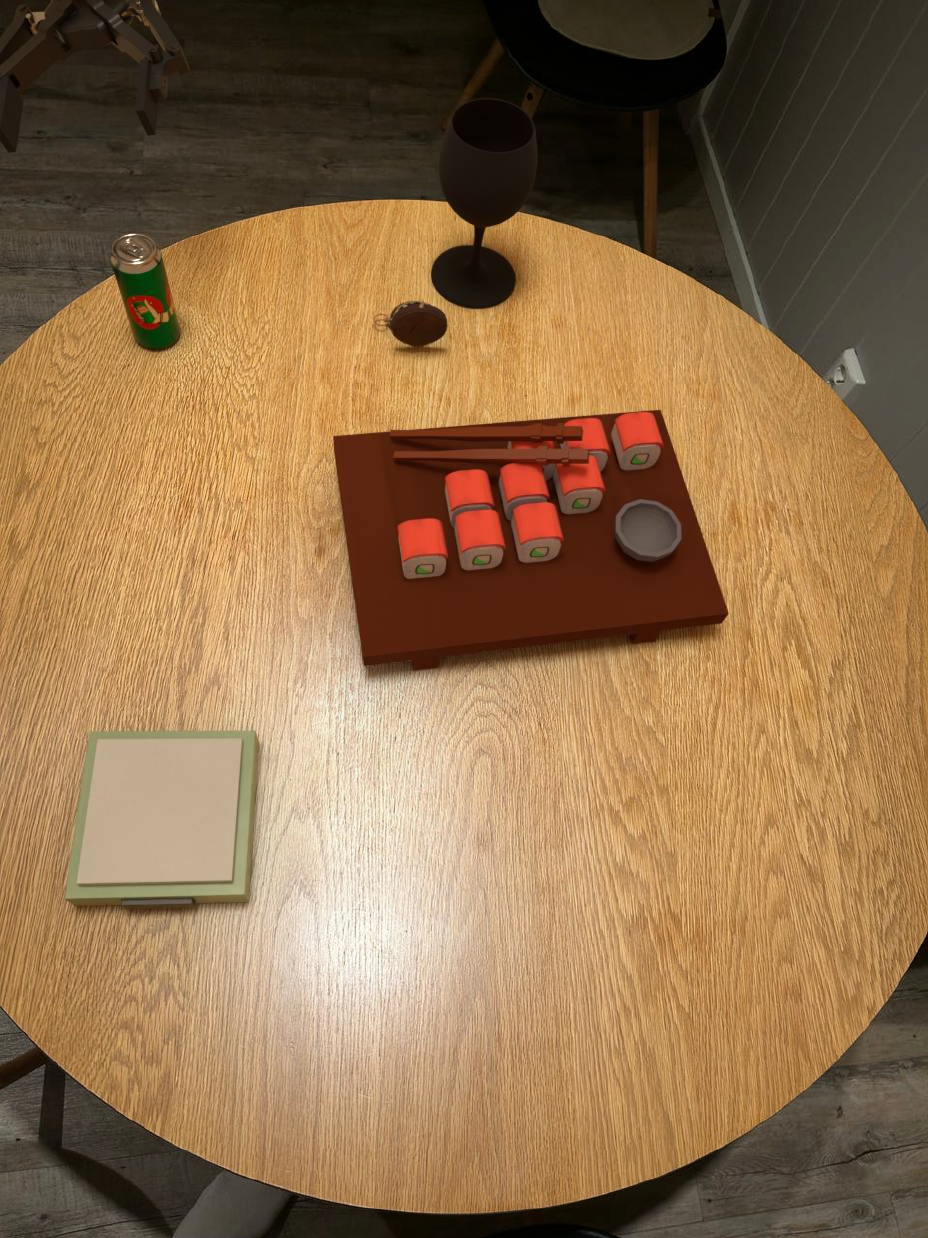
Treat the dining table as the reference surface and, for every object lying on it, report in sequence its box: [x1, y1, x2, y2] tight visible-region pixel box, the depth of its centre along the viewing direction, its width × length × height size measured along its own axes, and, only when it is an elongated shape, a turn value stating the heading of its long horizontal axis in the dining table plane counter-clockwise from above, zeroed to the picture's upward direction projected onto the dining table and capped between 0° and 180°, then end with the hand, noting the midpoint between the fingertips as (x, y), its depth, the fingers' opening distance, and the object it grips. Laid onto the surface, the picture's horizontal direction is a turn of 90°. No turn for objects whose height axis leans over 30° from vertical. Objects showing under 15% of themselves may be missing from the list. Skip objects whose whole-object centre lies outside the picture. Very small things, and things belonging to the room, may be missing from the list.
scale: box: [63, 730, 260, 910], centre depth 79 cm, size 14×14×4 cm
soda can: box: [109, 233, 181, 350], centre depth 99 cm, size 5×5×12 cm
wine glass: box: [430, 97, 538, 310], centre depth 104 cm, size 10×10×20 cm
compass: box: [372, 299, 448, 346], centre depth 105 cm, size 8×8×7 cm
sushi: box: [332, 409, 730, 672], centre depth 91 cm, size 25×35×12 cm
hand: (74, 132), depth 87 cm, fingers open, 13 cm apart
